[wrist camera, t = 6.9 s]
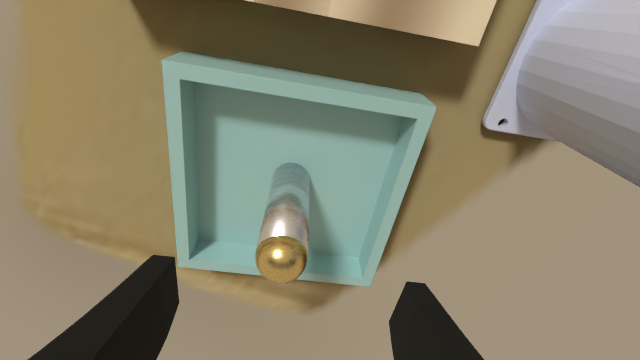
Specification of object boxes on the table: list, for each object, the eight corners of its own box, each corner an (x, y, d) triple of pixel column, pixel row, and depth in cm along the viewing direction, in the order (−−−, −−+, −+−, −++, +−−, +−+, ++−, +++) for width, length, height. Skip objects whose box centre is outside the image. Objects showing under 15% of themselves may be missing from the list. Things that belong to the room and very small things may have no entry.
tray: (420, 92, 17) (436, 107, 14) (364, 259, 23) (370, 287, 21) (183, 50, 15) (161, 59, 13) (191, 239, 21) (178, 266, 19)
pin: (311, 164, 18) (310, 257, 11) (308, 195, 19) (305, 296, 13) (273, 160, 18) (250, 253, 11) (272, 193, 19) (251, 294, 12)
